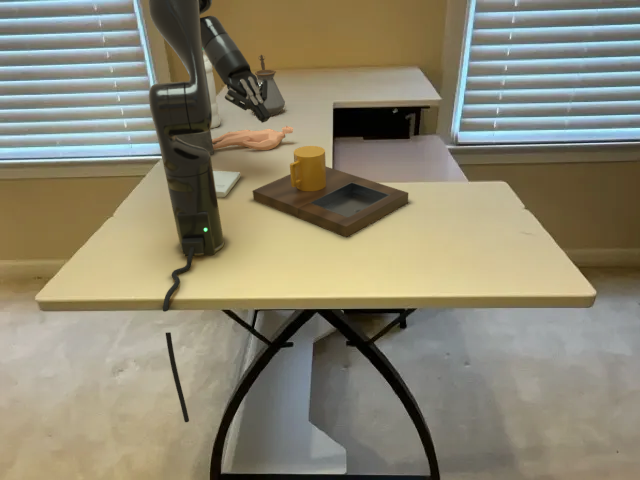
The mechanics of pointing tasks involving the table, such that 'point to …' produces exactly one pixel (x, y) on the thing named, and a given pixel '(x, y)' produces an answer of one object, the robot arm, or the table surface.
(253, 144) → the male figurine
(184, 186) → the robot arm
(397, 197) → the counter
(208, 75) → the water bottle
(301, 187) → the mug
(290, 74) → the table surface
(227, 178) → the hard drive
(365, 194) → the sink
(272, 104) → the coffee pot
